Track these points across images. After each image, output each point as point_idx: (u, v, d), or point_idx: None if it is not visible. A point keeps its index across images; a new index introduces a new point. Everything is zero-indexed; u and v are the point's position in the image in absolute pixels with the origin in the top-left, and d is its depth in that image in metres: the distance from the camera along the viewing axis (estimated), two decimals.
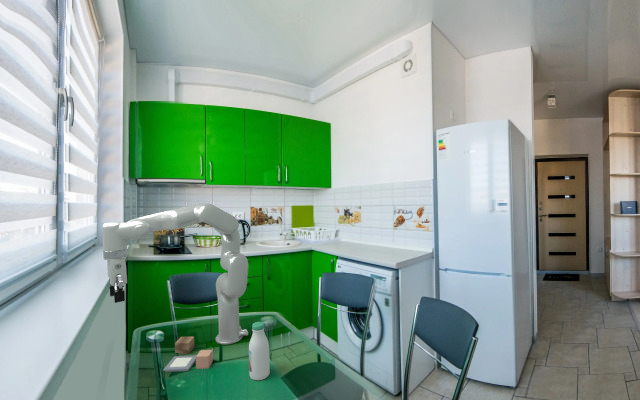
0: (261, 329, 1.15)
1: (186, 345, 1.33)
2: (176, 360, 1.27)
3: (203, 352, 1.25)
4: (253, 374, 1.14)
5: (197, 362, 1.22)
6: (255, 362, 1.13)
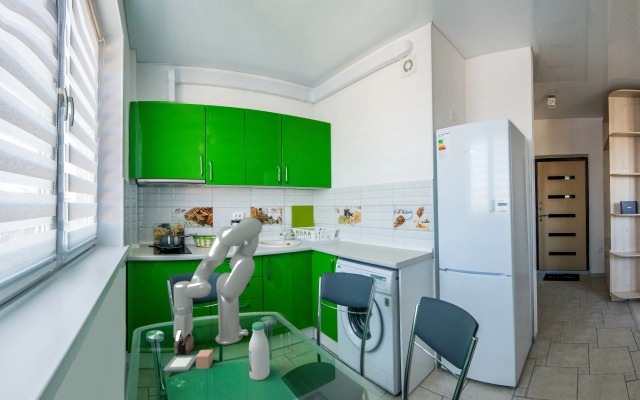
0: (261, 329, 1.15)
1: (185, 345, 1.34)
2: (176, 360, 1.27)
3: (203, 352, 1.25)
4: (253, 374, 1.14)
5: (197, 362, 1.22)
6: (255, 362, 1.13)
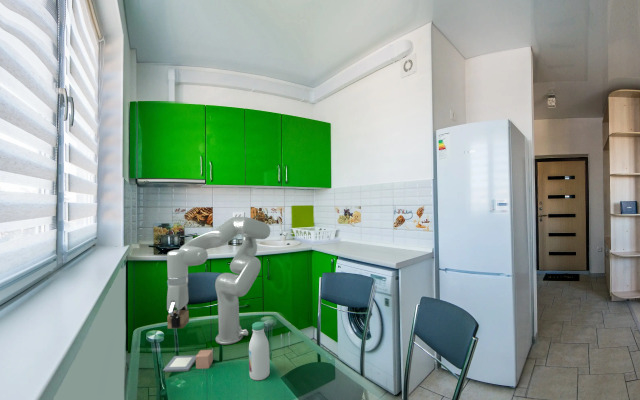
0: (261, 329, 1.15)
1: None
2: (176, 360, 1.27)
3: (203, 352, 1.25)
4: (253, 374, 1.14)
5: (197, 362, 1.22)
6: (255, 362, 1.13)
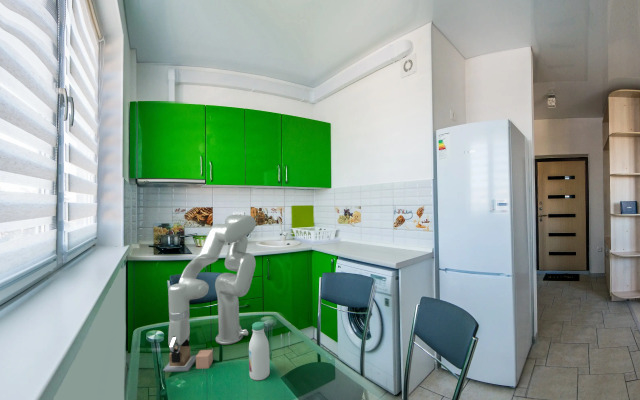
0: (261, 329, 1.15)
1: (181, 356, 1.23)
2: None
3: (203, 352, 1.25)
4: (253, 374, 1.14)
5: (197, 362, 1.22)
6: (255, 362, 1.13)
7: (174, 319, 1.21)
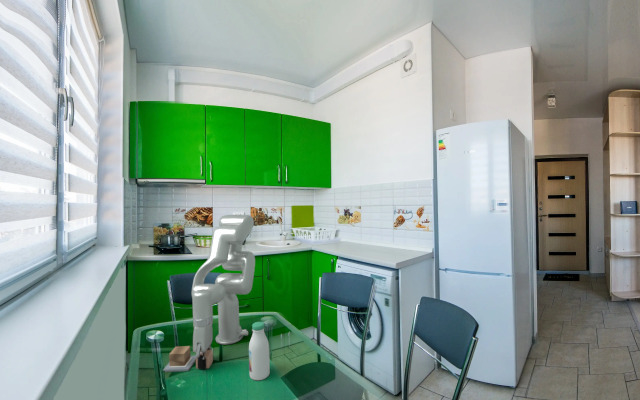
0: (261, 329, 1.15)
1: (181, 356, 1.23)
2: None
3: None
4: (253, 374, 1.14)
5: (197, 362, 1.22)
6: (255, 362, 1.13)
7: (198, 325, 1.21)
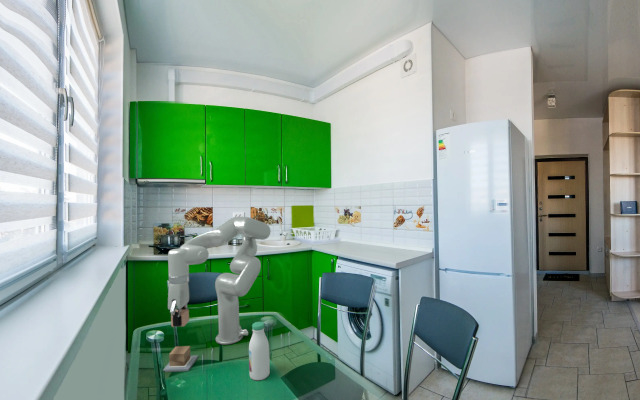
0: (261, 329, 1.15)
1: (181, 356, 1.23)
2: None
3: None
4: (253, 374, 1.14)
5: (172, 320, 1.22)
6: (255, 362, 1.13)
7: (174, 283, 1.21)
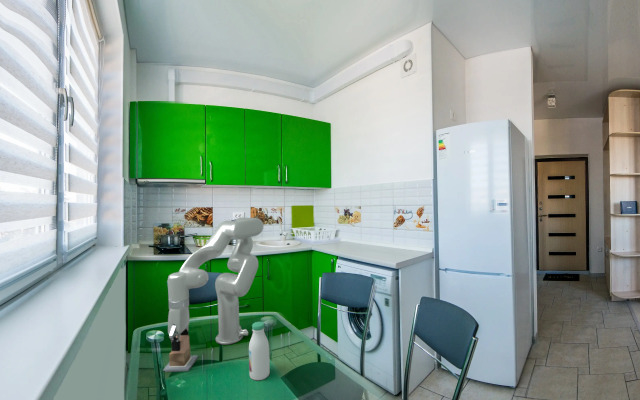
0: (261, 329, 1.15)
1: (181, 356, 1.23)
2: None
3: None
4: (253, 374, 1.14)
5: None
6: (255, 362, 1.13)
7: (174, 307, 1.21)
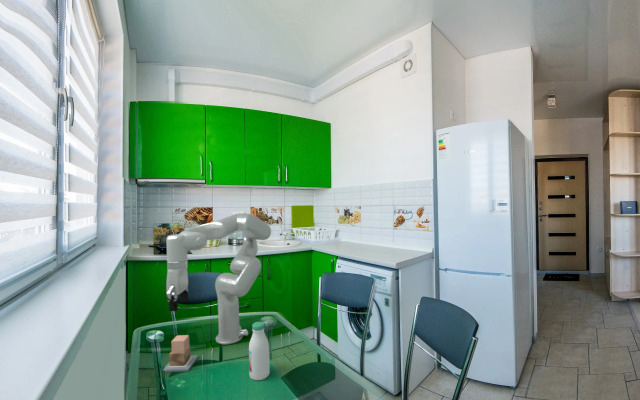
0: (261, 329, 1.15)
1: (181, 356, 1.23)
2: None
3: (179, 337, 1.26)
4: (253, 374, 1.14)
5: (173, 347, 1.23)
6: (256, 362, 1.13)
7: (172, 268, 1.21)
